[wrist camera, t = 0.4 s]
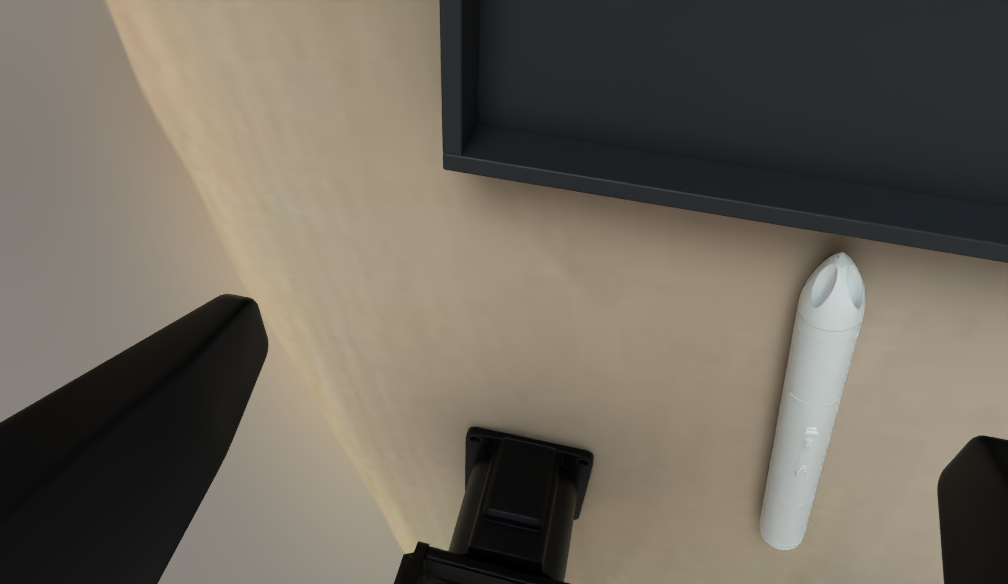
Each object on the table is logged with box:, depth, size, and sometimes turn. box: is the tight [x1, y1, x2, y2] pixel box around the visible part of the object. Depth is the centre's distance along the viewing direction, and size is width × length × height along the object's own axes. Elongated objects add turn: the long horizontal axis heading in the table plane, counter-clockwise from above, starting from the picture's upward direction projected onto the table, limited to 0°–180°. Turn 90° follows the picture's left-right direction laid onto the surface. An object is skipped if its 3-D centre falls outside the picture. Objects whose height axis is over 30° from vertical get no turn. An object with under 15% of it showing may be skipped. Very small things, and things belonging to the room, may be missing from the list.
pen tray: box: [440, 0, 1008, 263], centre depth 17 cm, size 10×23×2 cm, turn 87°
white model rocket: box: [760, 252, 866, 550], centre depth 27 cm, size 18×2×2 cm, turn 10°
